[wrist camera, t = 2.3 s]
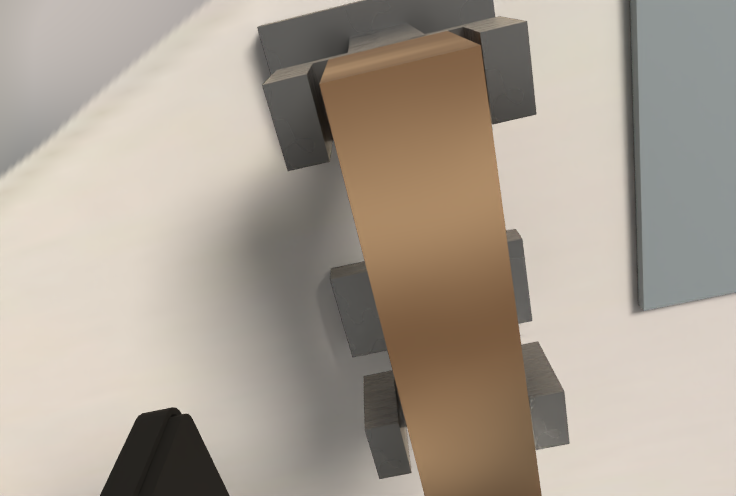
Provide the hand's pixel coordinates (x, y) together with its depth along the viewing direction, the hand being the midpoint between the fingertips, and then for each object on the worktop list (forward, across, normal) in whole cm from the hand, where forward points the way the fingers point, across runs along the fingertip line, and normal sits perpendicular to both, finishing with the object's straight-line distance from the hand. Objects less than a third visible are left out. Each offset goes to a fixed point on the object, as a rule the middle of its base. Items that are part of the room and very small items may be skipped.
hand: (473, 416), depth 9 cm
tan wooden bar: (+7, 0, +1) cm, 7 cm away
